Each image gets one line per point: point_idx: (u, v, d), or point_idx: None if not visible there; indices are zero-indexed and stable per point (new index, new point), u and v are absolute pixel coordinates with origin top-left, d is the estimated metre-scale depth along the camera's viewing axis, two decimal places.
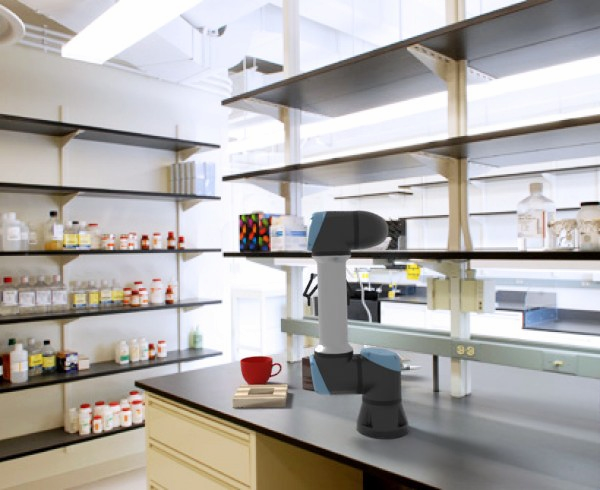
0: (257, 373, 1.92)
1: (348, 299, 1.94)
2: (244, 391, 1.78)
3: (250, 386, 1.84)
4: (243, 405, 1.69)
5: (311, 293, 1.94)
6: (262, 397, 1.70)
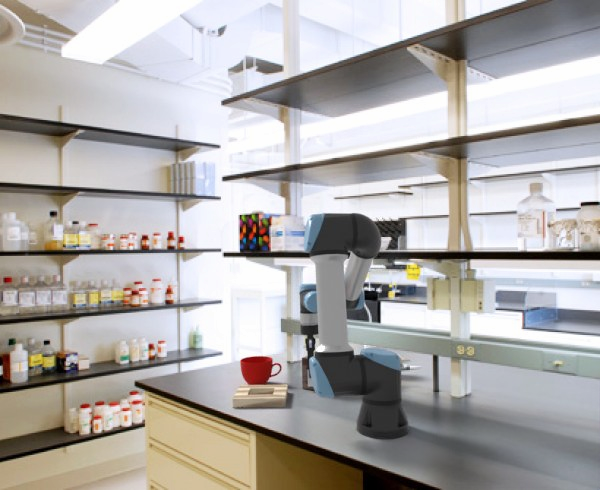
0: (257, 373, 1.92)
1: (309, 371, 1.85)
2: (244, 391, 1.78)
3: (250, 386, 1.84)
4: (243, 405, 1.69)
5: None
6: (262, 397, 1.70)
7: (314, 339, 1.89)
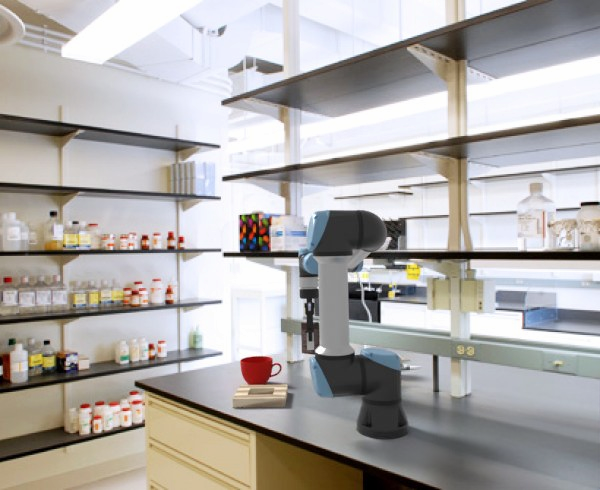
0: (257, 373, 1.92)
1: (308, 334, 1.85)
2: (244, 391, 1.78)
3: (250, 386, 1.84)
4: (243, 405, 1.69)
5: None
6: (262, 397, 1.70)
7: (313, 303, 1.89)
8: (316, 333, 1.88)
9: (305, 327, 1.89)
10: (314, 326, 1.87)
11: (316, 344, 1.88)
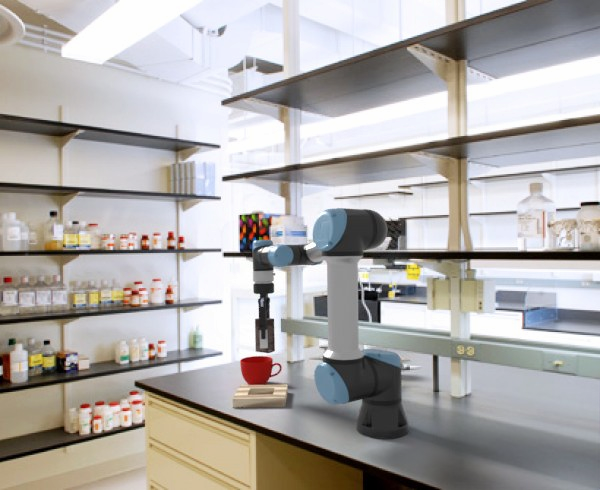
0: (257, 373, 1.92)
1: None
2: (244, 391, 1.78)
3: (250, 386, 1.84)
4: (243, 405, 1.69)
5: None
6: (262, 397, 1.70)
7: (267, 298, 1.77)
8: (270, 331, 1.77)
9: None
10: (268, 322, 1.76)
11: (270, 342, 1.77)
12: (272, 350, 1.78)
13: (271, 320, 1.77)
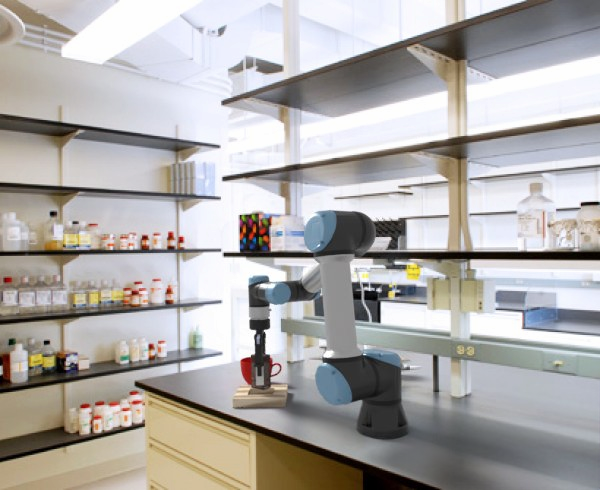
0: None
1: (257, 369, 1.73)
2: (244, 391, 1.78)
3: (250, 386, 1.84)
4: (243, 405, 1.69)
5: None
6: (262, 397, 1.70)
7: (264, 335, 1.76)
8: (266, 367, 1.75)
9: None
10: (264, 359, 1.75)
11: (266, 379, 1.75)
12: (268, 386, 1.76)
13: (267, 356, 1.76)
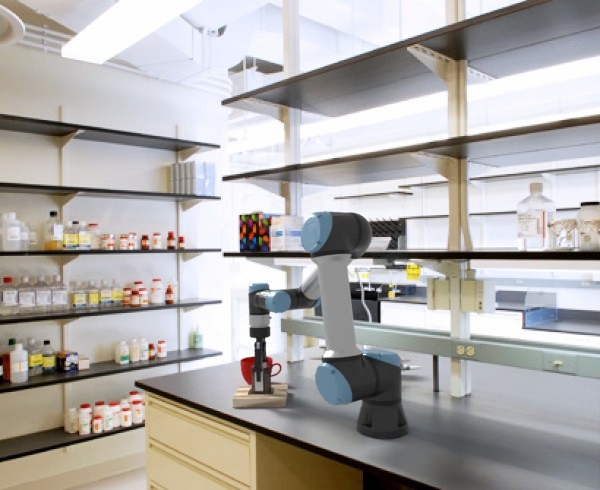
0: None
1: (256, 374, 1.70)
2: (244, 391, 1.78)
3: (250, 386, 1.84)
4: (243, 405, 1.69)
5: None
6: (262, 397, 1.70)
7: (264, 342, 1.76)
8: (267, 379, 1.76)
9: None
10: (265, 371, 1.75)
11: (266, 391, 1.75)
12: None
13: (268, 368, 1.76)
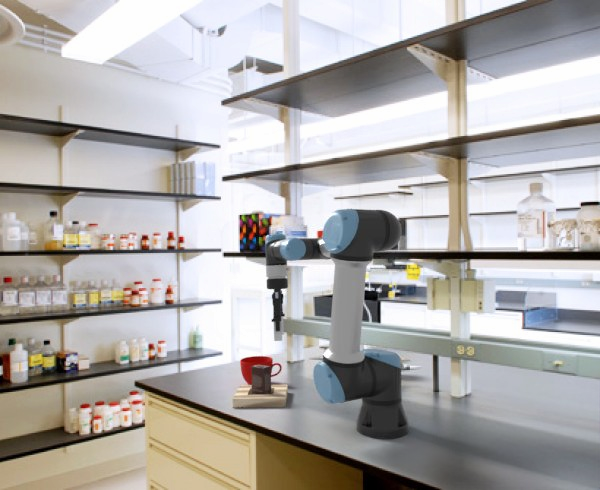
0: None
1: None
2: (244, 391, 1.78)
3: (250, 386, 1.84)
4: (243, 405, 1.69)
5: None
6: (262, 397, 1.70)
7: (281, 294, 1.74)
8: (267, 379, 1.76)
9: (255, 372, 1.76)
10: (265, 371, 1.75)
11: (266, 391, 1.75)
12: None
13: (268, 368, 1.76)
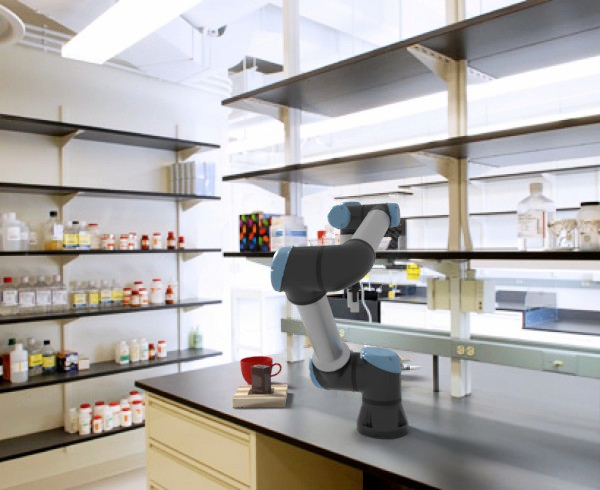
0: None
1: (352, 294, 1.60)
2: (244, 391, 1.78)
3: (250, 386, 1.84)
4: (243, 405, 1.69)
5: None
6: (262, 397, 1.70)
7: None
8: (267, 379, 1.76)
9: (255, 372, 1.76)
10: (265, 371, 1.75)
11: (266, 391, 1.75)
12: None
13: (268, 368, 1.76)
